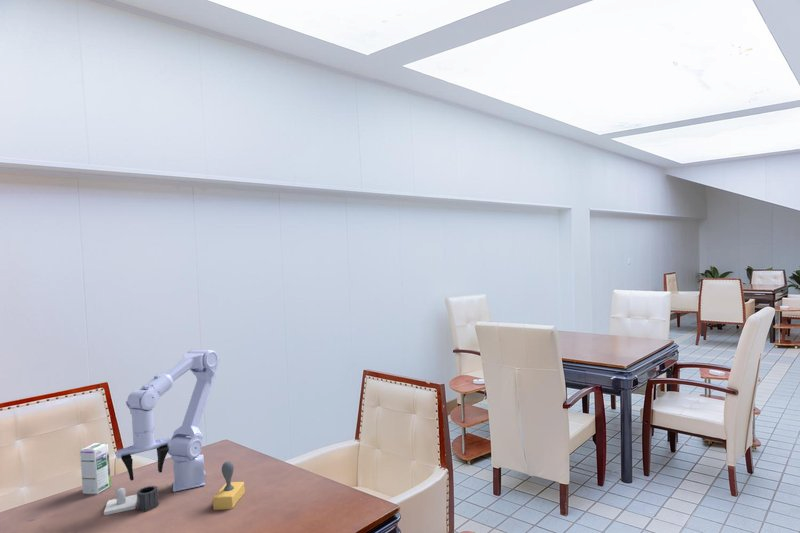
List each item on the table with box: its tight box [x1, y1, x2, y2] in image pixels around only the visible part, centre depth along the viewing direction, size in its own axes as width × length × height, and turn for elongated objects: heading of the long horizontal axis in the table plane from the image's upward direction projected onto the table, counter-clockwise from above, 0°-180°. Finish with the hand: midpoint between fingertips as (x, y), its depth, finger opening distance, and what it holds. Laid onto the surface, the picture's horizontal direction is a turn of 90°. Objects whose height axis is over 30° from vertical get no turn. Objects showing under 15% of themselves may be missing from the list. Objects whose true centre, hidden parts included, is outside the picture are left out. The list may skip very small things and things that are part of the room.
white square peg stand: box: [103, 487, 137, 516], centre depth 147 cm, size 8×8×5 cm
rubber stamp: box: [212, 460, 246, 511], centre depth 147 cm, size 10×6×12 cm, turn 177°
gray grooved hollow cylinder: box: [136, 485, 159, 512], centre depth 146 cm, size 5×5×5 cm
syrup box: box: [79, 442, 112, 495], centre depth 159 cm, size 6×6×14 cm
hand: (146, 475), depth 146 cm, fingers open, 7 cm apart
